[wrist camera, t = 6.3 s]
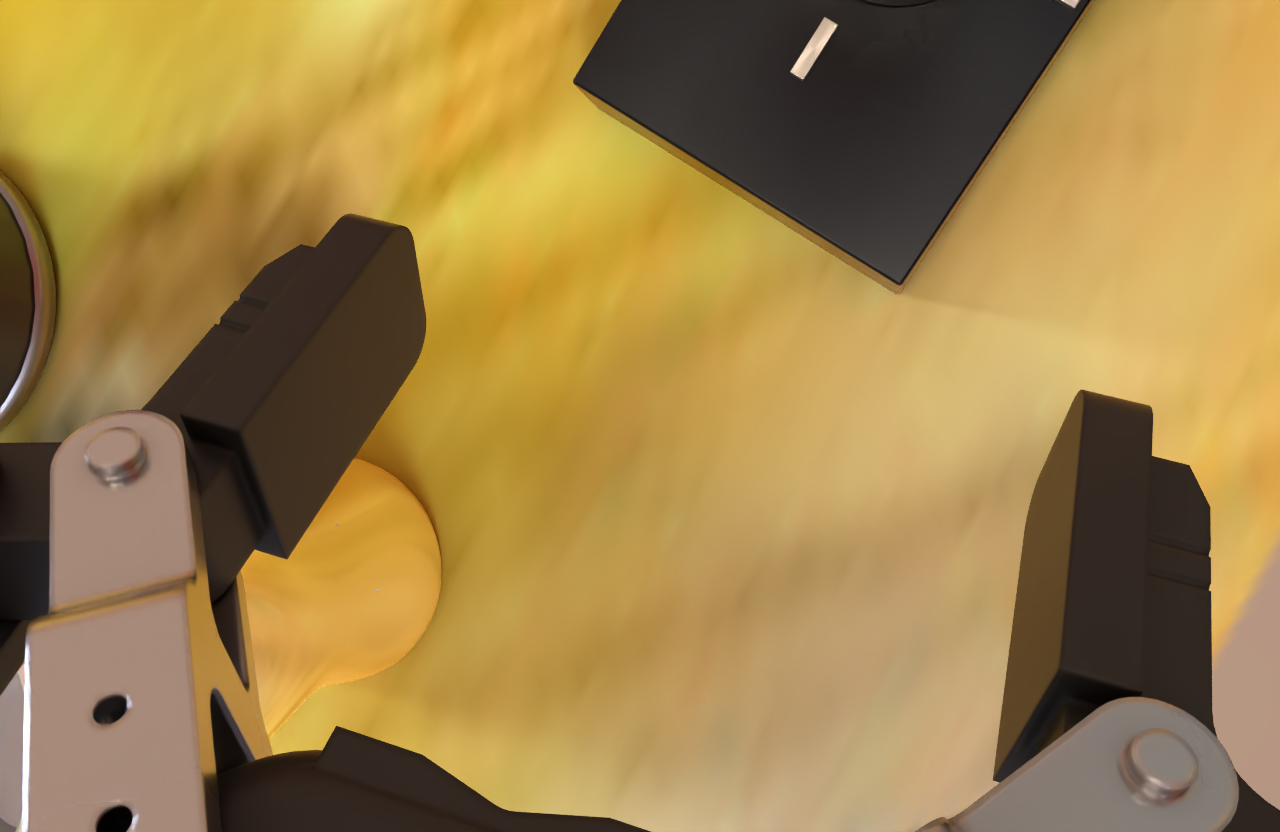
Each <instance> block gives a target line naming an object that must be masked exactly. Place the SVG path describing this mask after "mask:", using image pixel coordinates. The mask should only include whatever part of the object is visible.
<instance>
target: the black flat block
mask: <svg viewBox="0 0 1280 832" xmlns="http://www.w3.org/2000/svg"><path fill="white" fill-rule="evenodd" d="M1094 1H1095V0H931V1H928V2H925V3H920V4H915V5H905V6H891V5H882V4H877V3H872V2H869V1H866V0H621V2H620V3H619V5H618V7H617V8H616V10H615V12H614V13H613V15H612V17H611V18H610V20H609V22H608V23H607V25H606V27H605V28H604V30H603V32H602V33H601V35H600V37H599V38H598V40H597V42H596V43H595V45H594V47H593V48H592V50H591V52H590V53H589V55H588V57H587V58H586V60H585V62H584V63H583V65H582V66H581V68H580V70H579V71H578V73H577V75H576V76H575V78H574V80H573V83H574V84H575V85H576V86H577V87H578V88H579V89H580V90H581V91H582V92H583V93H584V94H585V95H586V96H587V97H588V98H589V99H590V100H591V101H592V102H593V103H594V104H595V105H596V106H597V107H598V108H599V109H600V110H602V111H603V112H605V113H607V114H608V115H610V116H611V117H613V118H615V119H616V120H618V121H619V122H621V123H623V124H624V125H626V126H627V127H629V128H631V129H632V130H634V131H635V132H637V133H639V134H640V135H642V136H643V137H645V138H647V139H648V140H650V141H652V142H653V143H655V144H656V145H658V146H660V147H661V148H663V149H664V150H666V151H668V152H669V153H671V154H672V155H674V156H676V157H677V158H679V159H680V160H682V161H684V162H685V163H687V164H688V165H690V166H692V167H693V168H695V169H696V170H698V171H700V172H701V173H703V174H704V175H706V176H708V177H709V178H711V179H712V180H714V181H716V182H717V183H719V184H720V185H722V186H724V187H725V188H727V189H728V190H730V191H732V192H733V193H735V194H736V195H738V196H740V197H741V198H743V199H744V200H746V201H748V202H749V203H751V204H752V205H754V206H756V207H757V208H759V209H761V210H762V211H764V212H765V213H767V214H769V215H770V216H772V217H773V218H775V219H777V220H778V221H780V222H781V223H783V224H785V225H786V226H788V227H789V228H791V229H793V230H794V231H796V232H797V233H799V234H801V235H802V236H804V237H805V238H807V239H809V240H810V241H812V242H813V243H815V244H817V245H818V246H820V247H821V248H823V249H825V250H826V251H828V252H829V253H831V254H833V255H834V256H836V257H837V258H839V259H841V260H842V261H844V262H845V263H847V264H849V265H850V266H852V267H853V268H855V269H857V270H858V271H860V272H861V273H863V274H865V275H866V276H868V277H870V278H871V279H873V280H874V281H876V282H878V283H879V284H881V285H882V286H884V287H886V288H887V289H889V290H890V291H892V292H894V293H895V294H899V293H900V292H901V291H902V289H903V288H904V286H905V285H906V283H907V282H908V280H909V279H910V277H911V276H912V274H913V273H914V271H915V270H916V268H917V267H918V265H919V264H920V262H921V261H922V259H923V258H924V256H925V255H926V253H927V252H928V250H929V249H930V247H931V246H932V244H933V243H934V241H935V240H936V238H937V237H938V235H939V234H940V232H941V231H942V229H943V228H944V226H945V225H946V223H947V222H948V220H949V219H950V217H951V216H952V214H953V213H954V211H955V210H956V208H957V207H958V205H959V204H960V202H961V201H962V199H963V198H964V196H965V195H966V193H967V192H968V190H969V189H970V187H971V186H972V184H973V183H974V181H975V180H976V178H977V177H978V175H979V174H980V172H981V171H982V169H983V168H984V166H985V165H986V163H987V162H988V160H989V159H990V157H991V156H992V154H993V153H994V151H995V150H996V148H997V147H998V145H999V144H1000V142H1001V141H1002V139H1003V138H1004V136H1005V135H1006V133H1007V132H1008V130H1009V129H1010V127H1011V126H1012V124H1013V123H1014V121H1015V120H1016V118H1017V117H1018V115H1019V114H1020V112H1021V111H1022V109H1023V108H1024V106H1025V105H1026V103H1027V102H1028V100H1029V99H1030V97H1031V96H1032V94H1033V93H1034V91H1035V90H1036V88H1037V87H1038V85H1039V84H1040V82H1041V81H1042V79H1043V78H1044V76H1045V75H1046V73H1047V72H1048V70H1049V69H1050V67H1051V66H1052V64H1053V63H1054V61H1055V60H1056V58H1057V57H1058V55H1059V54H1060V52H1061V51H1062V49H1063V48H1064V46H1065V45H1066V43H1067V42H1068V40H1069V39H1070V37H1071V36H1072V34H1073V33H1074V31H1075V30H1076V28H1077V27H1078V25H1079V24H1080V22H1081V21H1082V19H1083V18H1084V16H1085V15H1086V13H1087V12H1088V10H1089V9H1090V7H1091V6H1092V4H1093V3H1094Z"/></svg>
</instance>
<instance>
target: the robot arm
mask: <svg viewBox="0 0 1280 832" xmlns="http://www.w3.org/2000/svg"><path fill="white" fill-rule="evenodd" d="M55 315H56V289H55V278H54V271H53V265H52V261H51V257H50V253H49V249H48V246H47V243H46V240H45V237H44V234H43V231H42V229H41V227H40V225H39V222H38V220H37V218H36V216H35V215H34V213H33V211H32V209H31V207H30V206H29V204H28V203H27V201H26V200H25V198H24V197H23V195H22V194H21V193H20V191H19V190H18V189H17V188H16V187H15V185H14V184H13V183H12V182H11V181H10V180H9V179H8V178H7V177H6V176H5V175H4V174H3V173H2V172H1V171H0V431H1V430H2V429H4V428H5V427H6V426H7V425H8V424H9V423H10V422H11V421H12V419H13V418H14V417H15V416H16V415H17V414H18V413H19V411H20V410H21V409H22V407H23V406H24V405H25V403H26V402H27V400H28V399H29V397H30V395H31V394H32V392H33V390H34V389H35V387H36V384H37V382H38V380H39V378H40V376H41V374H42V371H43V369H44V366H45V364H46V361H47V357H48V354H49V350H50V347H51V343H52V337H53V332H54V325H55ZM220 319H221V321H220V324H219V325H218V324H215V325H214V326H213V327H212V328H211V330H210V331H209V332H208V333H207V334H206V335H205V337H204V338H203V339H202V340H201V341H200V342H199V344H198V345H197V346H196V347H195V348H194V349H193V351H192V352H191V353H190V354H189V355H188V357H187V358H186V359H185V360H184V361H183V362H182V364H181V365H180V366H179V367H178V368H177V369H176V371H175V372H174V373H173V374H172V375H171V376H170V378H169V379H168V380H167V381H166V382H165V383H164V385H163V386H162V387H161V388H160V389H159V390H158V392H157V393H156V394H155V395H154V396H153V398H152V399H151V400H150V401H149V402H148V403H147V404H146V405H145V406H144V408H143V409H142V410H127V411H120V412H115V413H111V414H107V415H104V416H101V417H99V418H96V419H94V420H92V421H90V422H88V423H86V424H84V425H83V426H81V427H80V428H78V429H77V430H76V431H74V432H73V433H72V434H71V435H70V436H69V437H67V438H66V439H65V441H64V442H59V443H0V695H1V694H2V693H3V691H4V690H5V688H6V687H7V686H8V684H9V683H10V681H11V680H12V679H13V677H14V676H15V674H16V673H17V672H18V670H19V669H20V667H21V666H22V665H23V663H24V662H25V688H24V737H23V786H22V832H650V831H647V830H644V829H641V828H638V827H635V826H632V825H629V824H626V823H623V822H620V821H617V820H614V819H611V818H602V817H587V816H572V815H557V814H542V813H527V812H514V811H508V810H505V809H502V808H500V807H498V806H496V805H495V804H493V803H492V802H490V801H489V800H487V799H486V798H484V797H483V796H481V795H480V794H479V793H477V792H476V791H474V790H473V789H471V788H470V787H468V786H467V785H465V784H464V783H463V782H461V781H460V780H458V779H457V778H455V777H454V776H452V775H451V774H450V773H448V772H447V771H445V770H444V769H442V768H441V767H439V766H438V765H436V764H435V763H434V762H432V761H431V760H429V759H428V758H426V757H425V756H423V755H421V754H418V753H415V752H412V751H409V750H407V749H404V748H401V747H398V746H395V745H392V744H389V743H386V742H383V741H380V740H377V739H374V738H371V737H368V736H365V735H362V734H359V733H356V732H353V731H350V730H347V729H344V728H341V727H338V726H336V727H335V729H334V731H333V733H332V735H331V736H330V738H329V740H328V742H327V744H326V745H325V747H324V749H323V750H309V751H295V752H288V753H283V754H277V755H273V754H272V750H271V746H270V742H269V738H268V735H267V732H266V728H265V725H264V721H263V717H262V713H261V708H260V702H259V695H258V687H257V680H256V672H255V664H254V656H253V649H252V641H251V633H250V626H249V618H248V610H247V602H246V595H245V587H244V581H243V577H242V574H241V571H240V570H241V569H242V567H243V566H244V564H245V563H246V561H247V560H248V558H249V557H250V555H251V554H252V552H253V551H254V550H257V551H261V552H264V553H267V554H270V555H274V556H277V557H280V558H283V559H288V558H289V556H290V555H291V553H292V552H293V550H294V548H295V547H296V545H297V544H298V542H299V541H300V539H301V538H302V536H303V535H304V533H305V532H306V530H307V529H308V527H309V526H310V524H311V523H312V521H313V520H314V518H315V516H316V515H317V513H318V512H319V510H320V509H321V507H322V506H323V504H324V503H325V501H326V500H327V498H328V497H329V495H330V494H331V492H332V491H333V489H334V488H335V486H336V485H337V483H338V481H339V480H340V478H341V477H342V475H343V474H344V472H345V471H346V469H347V468H348V466H349V465H350V463H351V462H352V460H353V459H354V457H355V456H356V454H357V453H358V451H359V450H360V448H361V446H362V445H363V443H364V442H365V440H366V439H367V437H368V436H369V434H370V433H371V431H372V430H373V428H374V427H375V425H376V424H377V422H378V421H379V419H380V418H381V416H382V414H383V413H384V411H385V410H386V408H387V407H388V405H389V404H390V402H391V401H392V399H393V398H394V396H395V395H396V393H397V392H398V390H399V389H400V387H401V386H402V384H403V383H404V381H405V379H406V378H407V376H408V375H409V373H410V372H411V370H412V369H413V367H414V366H415V364H416V362H417V360H418V358H419V356H420V353H421V350H422V347H423V343H424V339H425V333H426V314H425V307H424V301H423V295H422V289H421V283H420V277H419V271H418V264H417V258H416V252H415V246H414V240H413V236H412V234H411V232H410V230H409V229H408V228H407V227H405V226H401V225H397V224H393V223H388V222H384V221H380V220H376V219H372V218H367V217H363V216H359V215H355V214H346V215H344V216H343V217H341V218H340V219H339V220H338V221H337V222H336V223H335V225H334V226H333V227H332V228H331V229H330V231H329V232H328V233H327V234H326V235H325V237H324V238H323V239H322V240H321V242H320V243H319V244H318V245H317V246H316V248H314V247H310V246H306V245H302V244H301V245H299V246H298V247H296V248H294V249H293V250H291V251H289V252H288V253H286V254H284V255H283V256H281V257H279V258H278V259H276V260H274V261H273V262H271V263H269V264H268V265H266V266H264V268H263V269H262V270H261V271H260V272H259V273H258V275H257V276H256V277H255V278H254V279H253V280H252V282H251V283H250V284H249V285H248V286H247V287H246V289H245V290H244V291H243V292H242V293H241V294H240V300H239V301H234V303H233V304H232V305H231V306H230V307H229V309H228V310H227V311H226V312H225V313H224V314H223V316H222V317H221V318H220ZM1152 432H1153V412H1152V408H1151V407H1150V406H1148V405H1144V404H1140V403H1136V402H1131V401H1127V400H1123V399H1119V398H1115V397H1110V396H1106V395H1102V394H1098V393H1094V392H1089V391H1085V390H1080V391H1079V392H1078V393H1077V395H1076V396H1075V398H1074V400H1073V402H1072V405H1071V407H1070V409H1069V411H1068V413H1067V416H1066V418H1065V420H1064V422H1063V424H1062V427H1061V429H1060V431H1059V433H1058V435H1057V438H1056V440H1055V442H1054V444H1053V446H1052V449H1051V451H1050V453H1049V455H1048V457H1047V460H1046V462H1045V464H1044V466H1043V468H1042V471H1041V473H1040V475H1039V478H1038V480H1037V483H1036V486H1035V489H1034V492H1033V495H1032V499H1031V502H1030V506H1029V510H1028V515H1027V520H1026V525H1025V532H1024V540H1023V547H1022V555H1021V563H1020V571H1019V579H1018V587H1017V594H1016V602H1015V610H1014V618H1013V626H1012V634H1011V642H1010V649H1009V657H1008V665H1007V673H1006V681H1005V689H1004V696H1003V704H1002V712H1001V720H1000V728H999V736H998V744H997V751H996V759H995V767H994V775H993V780H994V781H997V782H1000V783H999V784H998V785H997V786H995V787H994V788H993V789H991V790H990V791H989V792H988V793H986V794H985V795H984V796H982V797H981V798H980V799H978V800H977V801H976V802H974V803H973V804H972V805H970V806H969V807H968V808H967V809H965V810H964V811H962V812H961V813H959V814H958V815H956V816H955V817H953V818H950V819H946V818H944V817H941V818H938V819H935V820H933V821H931V822H930V823H928V824H926V825H924V826H923V827H921V828H920V829H918V830H917V831H915V832H1280V810H1278V809H1277V808H1275V807H1274V806H1272V805H1271V804H1269V803H1268V802H1267V801H1265V800H1264V799H1263V798H1262V797H1261V796H1259V795H1258V794H1257V793H1256V792H1255V791H1254V790H1252V788H1251V787H1250V786H1248V784H1247V783H1246V782H1245V781H1244V780H1243V779H1242V778H1241V777H1240V776H1239V774H1238V773H1237V772H1236V770H1235V769H1234V766H1233V764H1232V761H1231V759H1230V757H1229V755H1228V753H1227V752H1226V750H1225V749H1224V747H1223V746H1222V744H1221V743H1220V741H1219V740H1218V738H1217V735H1216V732H1215V728H1214V724H1213V715H1212V642H1211V591H1209V586H1210V584H1211V557H1209V552H1210V549H1211V536H1210V506H1209V504H1208V502H1207V500H1206V498H1205V496H1204V494H1203V492H1202V490H1201V488H1200V486H1199V484H1198V482H1197V480H1196V478H1195V476H1194V474H1193V472H1192V470H1191V468H1190V466H1189V465H1186V464H1182V463H1178V462H1174V461H1170V460H1166V459H1162V458H1158V457H1154V456H1152Z"/></svg>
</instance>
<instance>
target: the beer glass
mask: <svg viewBox="0 0 1280 832" xmlns="http://www.w3.org/2000/svg"><path fill="white" fill-rule="evenodd" d="M240 571H241V574H242V577H243V581H244V587H245V595H246V602H247V610H248V618H249V626H250V633H251V641H252V649H253V656H254V664H255V672H256V680H257V687H258V695H259V702H260V708H261V713H262V717H263V721H264V725H265V728H266V732H267V735H268V738H269V739H270V738H271V737H272V736H273V735H274V734H275V733H276V732H277V731H278V730H279V729H280V728H281V727H282V726H283V725H284V724H285V722H286V721H287V720H288V719H289V718H290V717H291V716H292V715H293V714H294V713H295V712H296V711H297V710H298V708H299V707H300V706H301V705H302V704H303V703H304V702H305V701H306V700H307V699H308V698H309V697H310V696H311V695H312V694H313V693H314V692H315V691H316V690H318V689H319V688H321V687H323V686H328V685H334V684H340V683H346V682H351V681H355V680H359V679H363V678H366V677H369V676H372V675H374V674H377V673H379V672H381V671H383V670H385V669H387V668H389V667H390V666H392V665H393V664H395V663H396V662H398V661H399V660H400V659H402V658H403V657H404V656H405V655H406V654H407V653H408V652H409V651H410V650H411V649H412V648H413V647H414V646H415V645H416V643H417V642H418V641H419V639H420V638H421V637H422V635H423V634H424V632H425V630H426V629H427V627H428V625H429V623H430V621H431V619H432V617H433V614H434V612H435V609H436V606H437V602H438V598H439V593H440V587H441V575H442V568H441V556H440V550H439V545H438V541H437V537H436V534H435V531H434V529H433V526H432V524H431V521H430V519H429V517H428V515H427V513H426V512H425V510H424V508H423V507H422V505H421V504H420V502H419V501H418V499H417V498H416V497H415V496H414V494H413V493H412V492H411V491H410V490H409V489H408V488H407V487H406V486H405V485H404V484H403V483H402V482H401V481H399V480H398V479H397V478H396V477H394V476H393V475H392V474H390V473H388V472H387V471H385V470H383V469H382V468H380V467H378V466H376V465H374V464H371V463H369V462H366V461H363V460H360V459H356V458H354V459H353V460H352V462H351V463H350V465H349V466H348V468H347V469H346V471H345V472H344V474H343V475H342V477H341V478H340V480H339V481H338V483H337V485H336V486H335V488H334V489H333V491H332V492H331V494H330V495H329V497H328V498H327V500H326V501H325V503H324V504H323V506H322V507H321V509H320V510H319V512H318V513H317V515H316V516H315V518H314V520H313V521H312V523H311V524H310V526H309V527H308V529H307V530H306V532H305V533H304V535H303V536H302V538H301V539H300V541H299V542H298V544H297V545H296V547H295V548H294V550H293V552H292V553H291V555H290V556H289V558H288V559H283V558H280V557H277V556H274V555H270V554H267V553H264V552H261V551H257V550H254V551H253V552H252V554H251V555H250V557H249V558H248V560H247V561H246V563H245V564H244V566H243V567H242V569H241V570H240ZM24 688H25V662H24V663H23V665H22V666H21V667H20V669H19V670H18V672H17V673H16V674H15V676H14V677H13V679H12V680H11V681H10V683H9V684H8V686H7V687H6V688H5V690H4V691H3V693H2V694H1V695H0V832H22V786H23V737H24Z"/></svg>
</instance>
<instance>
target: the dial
mask: <svg viewBox="0 0 1280 832" xmlns="http://www.w3.org/2000/svg"><path fill="white" fill-rule="evenodd" d="M866 1H869V2H872V3H877V4H882V5H891V6H905V5H915V4H920V3H925V2H928V1H931V0H866Z"/></svg>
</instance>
